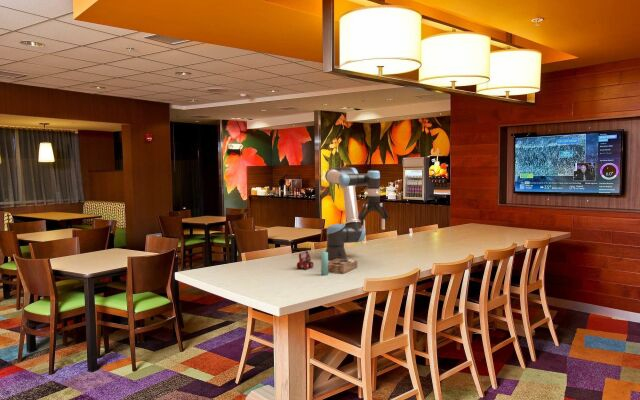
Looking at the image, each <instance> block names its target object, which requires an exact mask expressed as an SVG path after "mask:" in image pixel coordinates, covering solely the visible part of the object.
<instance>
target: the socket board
mask: <svg viewBox="0 0 640 400" xmlns="http://www.w3.org/2000/svg"><path fill="white" fill-rule="evenodd" d="M355 269H358V260H357V259H334V260H328V273H333V274H342V275H344V274H346V273H348V272H350V271H353V270H355Z"/></svg>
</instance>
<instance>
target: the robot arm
mask: <svg viewBox="0 0 640 400" xmlns="http://www.w3.org/2000/svg"><path fill="white" fill-rule="evenodd" d="M380 173H381V172H380V171H379V170H368V171H367V173H359V172H358V170H357V168H355V167H332V168H330V169H328V170H327V171H326V172H325V175H324V178H325V180H326V181H327V183H329V184H333V185H340V188H341V189H342V192H343V201H344V209H345V219H346V222H345V223H334V224H330V225H328V226H327V227H326V250H325V252H328V261H332V260H334V259H347V253H346V250H345V244H347V243H348V244H349V243H361V242H363V241H365V237H366V234H367V233H366V220H365V219H366V217H367V216H368V214H369V213H371V212H373V211H375V212H378V214H379V215H380V217H381V230H385V229H386V228H385V225H387V224H386V223H387V219H389V217H390V216H389V214H388V211H387V210H386V207H385V202H384V203H383V202H380V201H381V200H380V194H381V191H380V190H381V188H380V187H381V186H380V181H381V180H380V179H381V174H380ZM359 186H366V187H367V190H366V191H367V193H366V195H367V196H366V197H367V199H366V200H367V203H363V204H362V207H361V209H360V212H359V211H358V210H359V209H358V201H357V195H356V187H359ZM347 260H348V259H347Z"/></svg>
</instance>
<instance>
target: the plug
mask: <svg viewBox="0 0 640 400" xmlns="http://www.w3.org/2000/svg"><path fill="white" fill-rule="evenodd" d="M328 262H329V260H328V252H326V251H321V252H320V275H321V276H328V275H329V272H328Z"/></svg>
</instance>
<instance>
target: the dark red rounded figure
mask: <svg viewBox="0 0 640 400" xmlns="http://www.w3.org/2000/svg"><path fill="white" fill-rule="evenodd" d="M298 258H299V261H297V262H296V268H297V269H298V270H301V268H302V269H304V270H306V271H307V270H309V269H312V268H313V267H314V262H313V261H312V259H311V256H310V253H309V251H308V250H305V251H302V252H300V253H298Z"/></svg>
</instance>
